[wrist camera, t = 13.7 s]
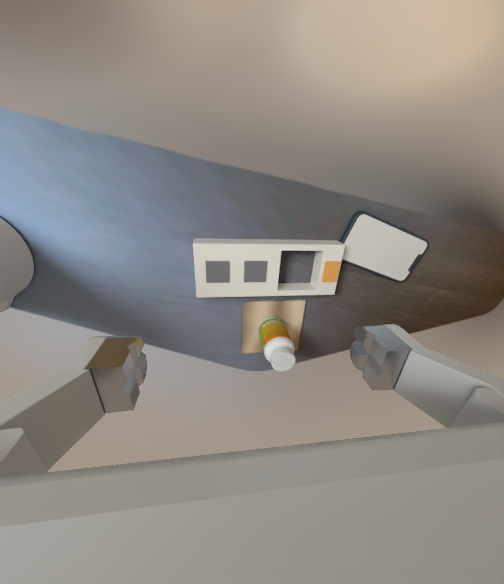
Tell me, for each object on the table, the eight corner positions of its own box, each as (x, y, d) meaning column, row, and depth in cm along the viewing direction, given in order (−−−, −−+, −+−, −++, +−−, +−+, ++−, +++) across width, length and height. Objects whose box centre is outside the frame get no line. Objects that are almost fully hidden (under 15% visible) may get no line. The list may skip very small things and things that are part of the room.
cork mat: (241, 352, 49) (241, 353, 48) (242, 301, 44) (243, 302, 43) (297, 349, 50) (297, 350, 50) (305, 299, 45) (305, 300, 45)
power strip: (197, 289, 41) (196, 298, 38) (194, 238, 37) (192, 244, 34) (327, 287, 45) (335, 295, 42) (336, 240, 41) (346, 245, 38)
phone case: (329, 255, 43) (397, 281, 47) (333, 258, 41) (403, 285, 45) (355, 207, 39) (426, 239, 43) (360, 208, 38) (433, 241, 42)
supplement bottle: (254, 321, 45) (263, 356, 37) (280, 312, 45) (295, 345, 37) (262, 342, 48) (272, 379, 39) (287, 333, 48) (302, 368, 39)
